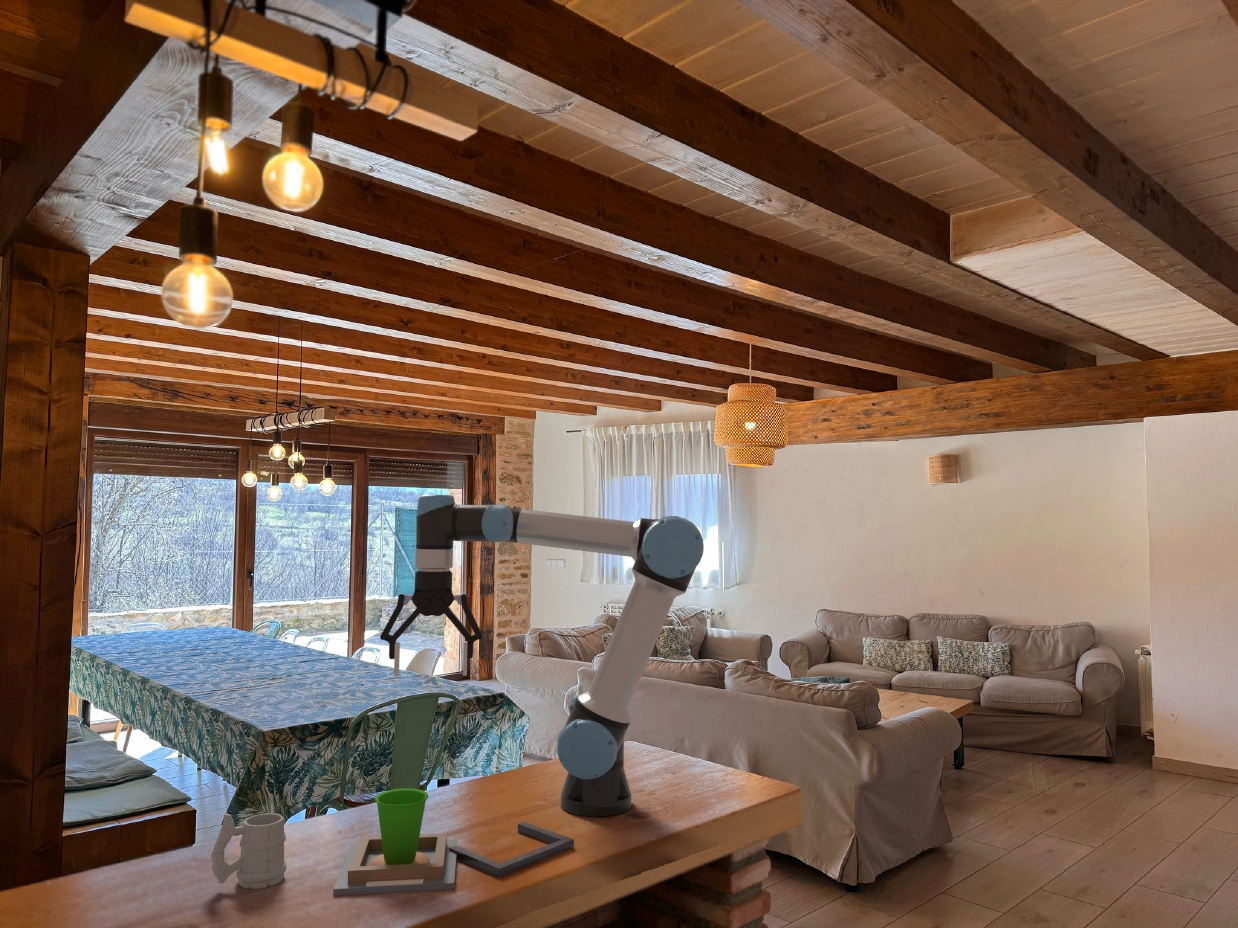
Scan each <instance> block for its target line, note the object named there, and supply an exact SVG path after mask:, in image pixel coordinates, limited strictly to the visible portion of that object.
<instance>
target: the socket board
mask: <svg viewBox="0 0 1238 928" xmlns="http://www.w3.org/2000/svg"><path fill="white" fill-rule="evenodd" d="M455 845H457V846H458V839H456V840H455V839H454V840H451V839H450V840H448V833H447V832H443V833H441V832H440V833H422V834H421V833H420V836H419V841H418V847H417V852H416V858H415V860H414V862H413V863H412V864H401V865H386V863H385V861H384V855H383V846H382V838H381V835H371V836H360V839H359V841H358V843H356V844H351V845H350V847H349V850H348V852H347V855H346V857H345V860H344V861H343V864H342V867H341V869H340V872H339V874H338V877H337V879H336V882H335V884H334V887H333V889H332V890H333V891H332V892H333V893H332V895H333V896H352V895H368V894H371V895H372V894H388V893H389V894H390V893H407V892H408V893H409V892H424V891H425V892H427V891H428V892H429V891H445V890H450V891H451V890H454V889H455V881H456V880H455V878H456V868H457V867H456V865H457V860H456V853H454V852H451V851H449V847H452V846H455Z"/></svg>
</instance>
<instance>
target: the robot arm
mask: <svg viewBox="0 0 1238 928" xmlns="http://www.w3.org/2000/svg"><path fill="white" fill-rule="evenodd" d="M415 518H416V519H415V520H416V529H415V530H416V532H415V540H416V542H415V555H414V559H415V562H414V567H415V569H417V570H416V571H415V572H414V591H413V594H405V593H404V592H401V593H400V594H398V597H397V602H396V606H395V608H394V610H393V612H392V614H391V616H390V617H389V618H388V621H387V623H386V625H385V627H384V628H383V631H382V632H381V634H380V636H379V638H380V640H381V641H385V642H387V643H388V644H389V645H388V658H389V660H394V661H393V662H394V663H393V677H399V675H400V655H401V653H400V650H401V649H400V647H401V642H400V641H397V640H398V639H399V638H400V637H401V635H403V633H405V632H406V631H407V629H408V628H409V627H410V625H411V624H412V623H413V622H414V621H415V620H416V619H417V618H418V616H419V615H420V614H421V615H422V616H423V617H430V616H435V617H441V616H443V615H445V617H447V619H448V620H449V621H450V623H452V625H454V627H455V628H456V629H457V630H458V632H459V633H460V634H461V635H462V636H463V638H464V639H465V640H466V641H465V640H464V641H463V648H462V649H463V652H462V653H463V656H462V657H463V658H462V677H463V676H465V677H466V676H468V675H467V673H468V659H472V658H473V657H474V642H475V641H478V640H481V639H483V633H482V631H481V628H480V626H479V624H478V623H477V620H476V618H475V616H474V614H473V612H472V609H471V607H470V606H469V603H468V594H467V593H462V594H453V572H452V571H451V569H452V568H453V563H454V562H453V561H454V542H475V543H477V542H479V543H480V542H483V543H484V542H486V543H488V542H489V543H501V542H503V543H505V542H506V543H514V544H515V543H516V544H523V545H524V544H525V545H533V546H541V547H549V548H556V549H566V550H572V551H581V552H589V553H595V554H596V553H598V554H605V555H615V556H621V557H628V558H630V557H631V558H632V559H633V561H634V563H633V566H632V568H631V572H632V574H633V577H634V583H633V586H632V588H631V589H630V592H629V595H628V596H627V599H626V602H625V604H624V606H623V607H622V608H623V609H622V611H621V614H620V615H619V618H618V620H617V623H616V624H615V627H614V630H613V632H612V635H611V636H610V638H609V641H608V644H607V646H606V648H605V650H604V653H603V655H602V658H601V660H600V663H599V665H598V667H597V670H596V672H595V674H594V676H593V679H592V682H591V683H590V686H589V687H588V690H587V691H585V692H583V693H579V694H577V695H574V696H572V697H571V699H570V705H569V710H570V713H569V716H568V718H567V720H566V722H565V725H564V727H563V728H562V730H560V732H559V734H558V737H557V741H556V753H557V756H558V760H559V763H560V764H561V766H562V767H563V769H564V770H565V771H566V772H567V774H566V777H565V781H564V783H563V786H562V790H561V792H560V808H561V809H562V810H564V811H565V812H568V813H570V814H573V815H578V816H584V817H597V818H598V817H611V816H616V815H620V814H623V813H625V812H627V811H629V810H630V809H631V808H632V792H631V788H630V786H629V785H630V784H629V783H628V777H627V775H626V772H625V767H624V766H625V762H624V761H625V760H624V759H625V735H626V733H627V732H628V728H629V726H630V724H631V722H632V718H631V715H630V712H629V707H630V704H631V702H632V699H633V697H634V695H635V692H636V690H637V688H638V686H639V683H640V681H641V678H642V676H643V673H644V671H645V669H646V666H647V664H648V661H649V660H650V657H651V655H652V652H653V650H654V647H655V646H656V643H657V641H658V638H659V636H660V633H661V631H662V629H663V627H664V624H665V622H666V620H667V617H668V615H669V612H670V610H671V607H672V606H673V603H674V601H675V599H676V598H677V597H678V596H679V597H680V596H681V595H684V594H686V592H687V589H688V587H689V585H690V583H691V581H692V578H693V575H694V574H695V571H696V568H697V567H698V565H699V564H700V562H701V560H702V557H703V556H704V555H703V554H704V549H705V548H704V539H703V535H702V533H701V531H700V530H699V529H698V527H697V526H696V525H695V524H694V523H693V522H692V521H690V520H688V519H687V518H684V517H680V516H677V515H676V516H675V515H669V516H663V517H661V518H644V517H643V518H642V517H640V518H639V519H637V520H636V521H631V520H630V521H629V520H621V519H614V518H613V519H612V518H604V517H594V516H587V515H586V516H585V515H577V514H570V513H569V514H568V513H559V512H551V511H543V510H542V511H541V510H534V509H533V510H532V509H526V508H517V507H516V508H515V507H509V506H508V505H500V504H495V503H494V504H458V503H457V504H456V502H455V497H454V496H453V495H452V494H422V495H420V496H419V497H418V499H417V509H416V515H415ZM410 601H411V602H412V603H413V605H414V606H415V607H416V608H415V609H414V611H413V612H411V614H410V615H409V616H408V618H407V619H405V621H404V622H403V623H402V624H400V626H399V627H398V629H397V630H396V631H395V632H394V633H393V634H390V632H391V630H392V629H393V627H394V625H395V623H396V622H397V619H398V617H399V615H400V614H401V612H402V610H403V608H404V606H406V605H408V603H409V602H410ZM454 601H456V603H457V605H458V606H461V607H462V611H463V613H464V614H465V616H466V618H467V621H468V623H469V625H470V627H471V630H472V631H473V634H471V632H470V631H469V630H468V629H467V627H466V626H465V625H464V623H462V621H461V620H460V619H459V618H458V617H457V615H456V614H455V613H454V611H453V610H452V609H451V608H450V607H451V605H452V604H453V603H454Z"/></svg>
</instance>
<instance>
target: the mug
mask: <svg viewBox="0 0 1238 928" xmlns="http://www.w3.org/2000/svg"><path fill="white" fill-rule="evenodd" d="M240 834H241V837H240V839H239V847H240V856H239V857H238V858H236V859H234V860H232V861H231V862H227V860H226V859H225V852H226V851H225V849H226V847H227V845H228V844H229V842H230V840H231V839H232V838H233V837H234V836H237V835H240ZM286 837H287V833H286V832H285V817H284V816H282V814H280V813H273V812H271V813H270V812H267V813H265V812H264V813H261V814H255V815H251V816H249V817H247V818H245V819H244V820H243V822H242V825H238V826H236V825H235V822H234V819H233V817H232V815H231V814H229V813H227V812H224V813H223V823H222V826H221V828H220V831H219V834H218V837H217V839H216V841H215V844H214V847H213V849H212V852H211V854H210V859H211V862H212V864H211V870H212V873H213V875H214V877H215V878H216V880H217V882H218V883H219V884H224V883H225V881H226V880H227V879H228V878H229V877H230V876H231V875H232V874H233V873H235V872H236V878H237V879H238V880H237V881H238V886H240V887H241V888H244V889H247V890H248V889H251V890H257V889H259V890H260V889H266V888H267V887H272V886H275V885H277V884H279V883H281V882H282V881H283V880H284V879H285V873H286V871H287V867H288V866H287V862H286V861H285V841H286Z"/></svg>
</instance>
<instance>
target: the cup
mask: <svg viewBox="0 0 1238 928" xmlns="http://www.w3.org/2000/svg"><path fill="white" fill-rule="evenodd" d="M428 799H429V794H428V792H426V791H425V790H422V789H419V788H407V787H405V788H403V787H402V788H394V789H390V790H385V791H382V792H380V793H378V794H377V795H376V796H375V798H374V801H375V803H376V804H377V811H378V812H377V813H378V823H379V828H380V836H381V838H382V846H383V855H384V861H385V863H386V865H401V864H412V863H413V862H414V860H415V858H416V852H417V847H418V841H419V836H420V834H421V829H422V825H423V824H422V823H423V818H424V812H425V806H426V802H427V800H428Z"/></svg>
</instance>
